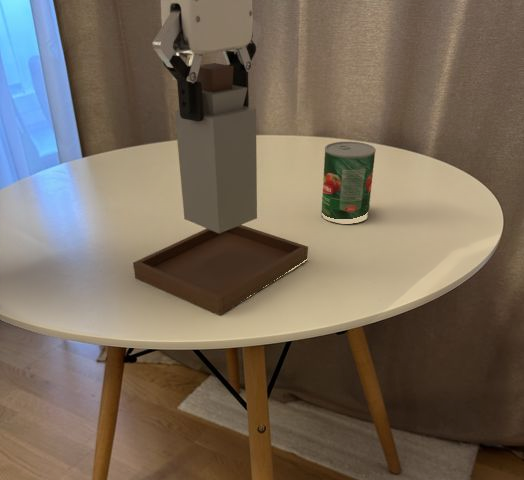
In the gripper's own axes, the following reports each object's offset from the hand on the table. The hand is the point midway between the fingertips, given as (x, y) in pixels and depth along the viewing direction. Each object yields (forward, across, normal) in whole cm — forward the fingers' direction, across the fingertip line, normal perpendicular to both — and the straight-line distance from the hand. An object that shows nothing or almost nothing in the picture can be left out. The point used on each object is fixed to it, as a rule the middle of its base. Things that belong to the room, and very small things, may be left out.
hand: (215, 111), depth 64 cm
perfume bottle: (+13, 0, 0) cm, 13 cm away
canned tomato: (+21, -27, +3) cm, 34 cm away
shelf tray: (+21, 0, 0) cm, 21 cm away
